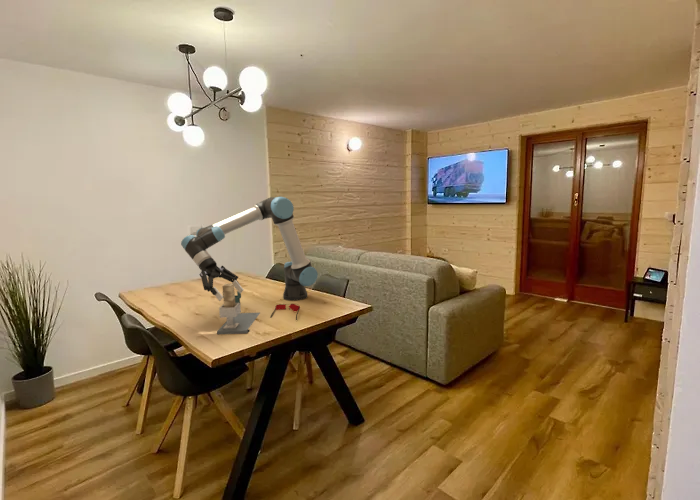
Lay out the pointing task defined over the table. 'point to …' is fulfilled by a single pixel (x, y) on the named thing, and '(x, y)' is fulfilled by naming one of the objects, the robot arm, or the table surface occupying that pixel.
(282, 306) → the glasses
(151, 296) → the table surface
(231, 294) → the light brown tall block
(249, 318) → the board
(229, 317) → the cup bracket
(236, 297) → the bracket
